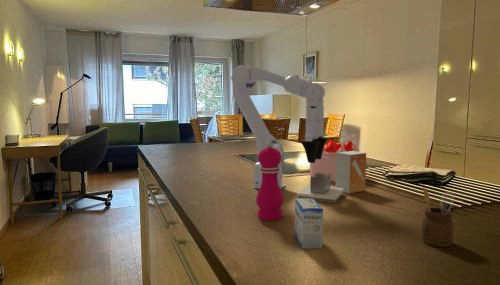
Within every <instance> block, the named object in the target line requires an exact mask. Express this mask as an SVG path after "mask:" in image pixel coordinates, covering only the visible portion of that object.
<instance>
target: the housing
mask: <svg viewBox="0 0 500 285" xmlns="http://www.w3.org/2000/svg"><path fill="white" fill-rule="evenodd" d="M309 181H310V182H309V183H310V184H309V185H310V193H316V194H326V193H327V192H328V191H329V190H330V187H331V181H330V174H324V173H316V174H314V175H313V176H310V180H309Z"/></svg>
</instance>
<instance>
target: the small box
mask: <svg viewBox="0 0 500 285" xmlns="http://www.w3.org/2000/svg"><path fill="white" fill-rule="evenodd" d="M366 169H367V152H362V151H359V152H357V151H348V152H340V153H336V182H335V187H336V188H344V191H343V192H342V193H343V194H344V193H345V194H349V195H350V194H355V193H358V192H364V191H366V174H367V173H366V172H367V171H366Z"/></svg>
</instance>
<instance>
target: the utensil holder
mask: <svg viewBox="0 0 500 285" xmlns="http://www.w3.org/2000/svg"><path fill="white" fill-rule="evenodd" d="M422 191H423V197H424V201H425V202H426V204H427V207H426V208H425V210H424V212H423V213H424V217H423V218H422V221H421V240H422V242H423V243H425V244H427V245H429V246H433V247H438V248H447V247H450V246H452V245H453V241H454V240H453V238H454V221H453V220H452V219H453V212H452V211H451V208H453V203H454V199H453V197H454V194H453V193H451V192H450V191H446V192H445V194H447V193H448V194H447V196H446V195H445V194H442V195H441V198H440V200H442V201H440V202H439V203H440V207H436V206H435V207H434V206H433V207H432V206H431V207H430V203H431V198H430V195H429V191H428V188H425V187H424V186H423V187H422ZM450 195H451V196H450ZM446 197H451V198H446ZM444 198H446V199H444ZM447 199H448V200H447ZM449 200H451V201H450V203H449V202H447V205H448V203H449V204H450V205H449V207H448V206H445V207H443V202H444V201H449ZM444 205H446V202H445V204H444ZM447 207H448V209H447Z"/></svg>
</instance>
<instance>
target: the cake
mask: <svg viewBox="0 0 500 285" xmlns="http://www.w3.org/2000/svg"><path fill="white" fill-rule="evenodd" d="M325 146H326V147H325ZM325 146H324V148H323V152H322V157H321V159H316V160H315V163H309V176H310V177H311V176H313V175H314V174H316V173H324V174H330V183H332V182H335V183H336V153H340V152H348V151H357V152H360V150H359V148H358V147H357V146H356V144H355V143H354V142H353V141H352V140H348V141H346V143H345V140H343V141H342V143H340V142H335V141H334V139H330V140H328V141H327V143H326V145H325Z"/></svg>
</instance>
